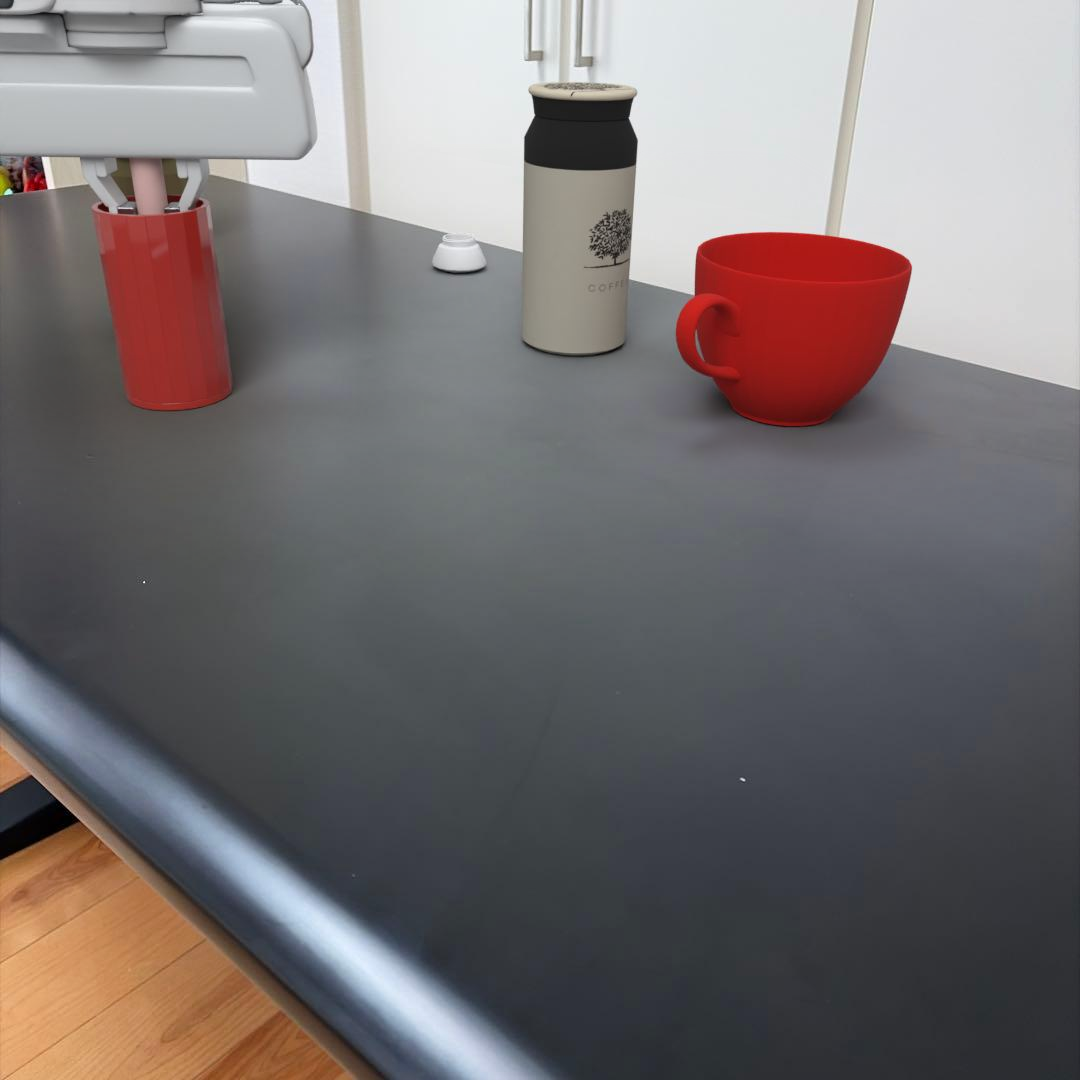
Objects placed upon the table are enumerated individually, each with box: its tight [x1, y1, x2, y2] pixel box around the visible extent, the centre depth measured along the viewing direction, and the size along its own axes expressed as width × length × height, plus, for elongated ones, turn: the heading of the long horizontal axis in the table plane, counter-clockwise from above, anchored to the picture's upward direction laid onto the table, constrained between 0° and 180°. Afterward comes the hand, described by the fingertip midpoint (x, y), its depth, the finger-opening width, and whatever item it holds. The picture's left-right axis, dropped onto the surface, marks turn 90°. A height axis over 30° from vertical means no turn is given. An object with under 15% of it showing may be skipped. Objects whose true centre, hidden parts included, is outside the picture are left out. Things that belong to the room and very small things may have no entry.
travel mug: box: [521, 81, 639, 357], centre depth 75 cm, size 8×8×18 cm
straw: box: [129, 158, 168, 215], centre depth 63 cm, size 2×2×15 cm
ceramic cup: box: [675, 231, 913, 427], centre depth 64 cm, size 13×17×10 cm
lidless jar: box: [431, 232, 487, 274], centre depth 97 cm, size 5×3×5 cm
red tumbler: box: [91, 194, 234, 412], centre depth 65 cm, size 7×7×12 cm
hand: (156, 234), depth 63 cm, fingers closed on straw, 2 cm apart
